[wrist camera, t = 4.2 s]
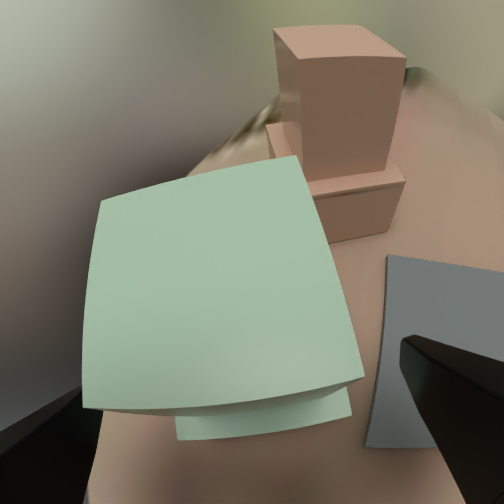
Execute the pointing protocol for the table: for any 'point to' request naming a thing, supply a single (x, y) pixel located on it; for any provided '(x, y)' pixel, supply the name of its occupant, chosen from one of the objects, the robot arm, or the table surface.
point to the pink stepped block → (340, 123)
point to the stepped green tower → (218, 306)
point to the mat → (429, 335)
